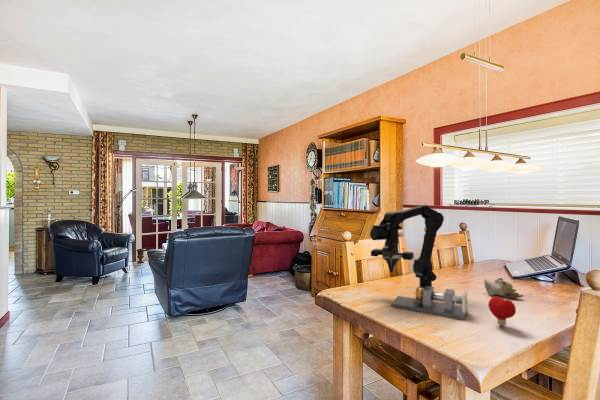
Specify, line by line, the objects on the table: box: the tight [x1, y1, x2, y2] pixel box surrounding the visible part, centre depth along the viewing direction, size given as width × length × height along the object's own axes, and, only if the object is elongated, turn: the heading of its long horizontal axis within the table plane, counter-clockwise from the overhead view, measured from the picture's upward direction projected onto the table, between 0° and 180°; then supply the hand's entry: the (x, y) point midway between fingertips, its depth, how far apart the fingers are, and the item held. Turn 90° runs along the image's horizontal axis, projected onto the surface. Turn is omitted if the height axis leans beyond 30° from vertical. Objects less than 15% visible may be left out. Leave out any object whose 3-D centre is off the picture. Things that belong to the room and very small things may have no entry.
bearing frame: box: [390, 286, 468, 321], centre depth 136 cm, size 12×28×8 cm, turn 58°
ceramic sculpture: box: [484, 278, 524, 299], centre depth 153 cm, size 11×9×15 cm
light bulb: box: [487, 296, 517, 327], centre depth 118 cm, size 9×7×10 cm
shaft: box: [415, 286, 462, 306], centre depth 133 cm, size 6×17×6 cm, turn 58°
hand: (391, 272), depth 153 cm, fingers closed
